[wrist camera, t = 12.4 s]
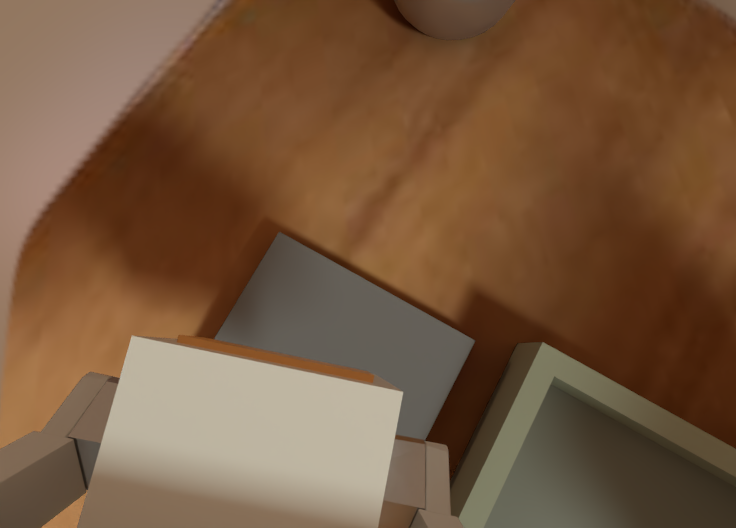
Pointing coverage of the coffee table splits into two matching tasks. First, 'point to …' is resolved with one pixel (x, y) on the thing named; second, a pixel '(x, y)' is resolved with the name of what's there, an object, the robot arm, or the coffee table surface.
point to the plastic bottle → (453, 16)
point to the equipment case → (587, 456)
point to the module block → (241, 440)
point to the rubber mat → (348, 328)
